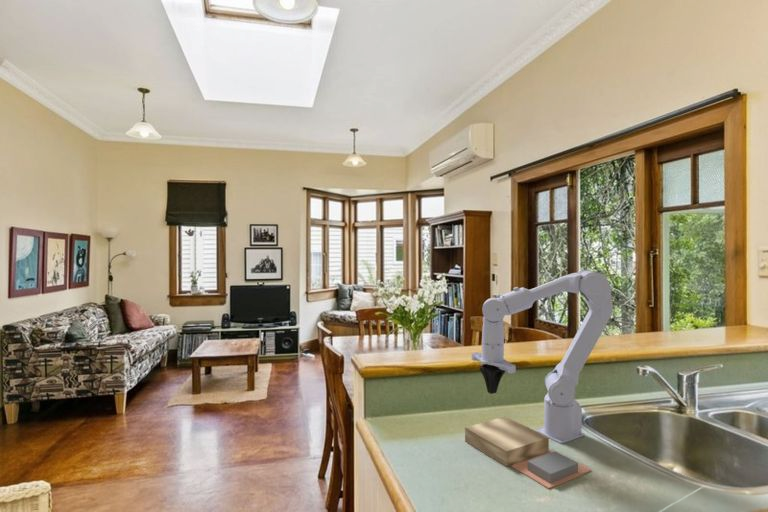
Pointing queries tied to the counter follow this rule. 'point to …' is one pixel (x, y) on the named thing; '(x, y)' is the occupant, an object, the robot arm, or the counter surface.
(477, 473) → the counter surface
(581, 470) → the terracotta mat
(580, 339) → the robot arm
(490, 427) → the birch deck
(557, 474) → the slate tile
